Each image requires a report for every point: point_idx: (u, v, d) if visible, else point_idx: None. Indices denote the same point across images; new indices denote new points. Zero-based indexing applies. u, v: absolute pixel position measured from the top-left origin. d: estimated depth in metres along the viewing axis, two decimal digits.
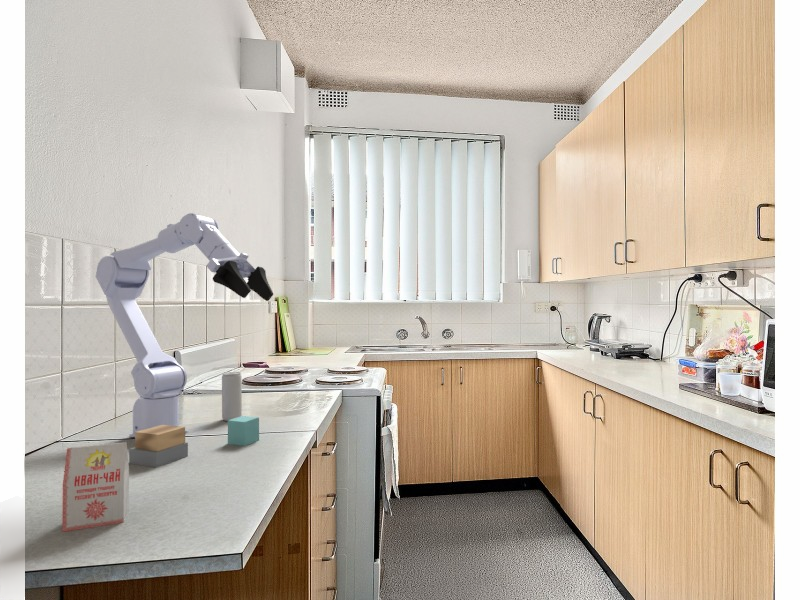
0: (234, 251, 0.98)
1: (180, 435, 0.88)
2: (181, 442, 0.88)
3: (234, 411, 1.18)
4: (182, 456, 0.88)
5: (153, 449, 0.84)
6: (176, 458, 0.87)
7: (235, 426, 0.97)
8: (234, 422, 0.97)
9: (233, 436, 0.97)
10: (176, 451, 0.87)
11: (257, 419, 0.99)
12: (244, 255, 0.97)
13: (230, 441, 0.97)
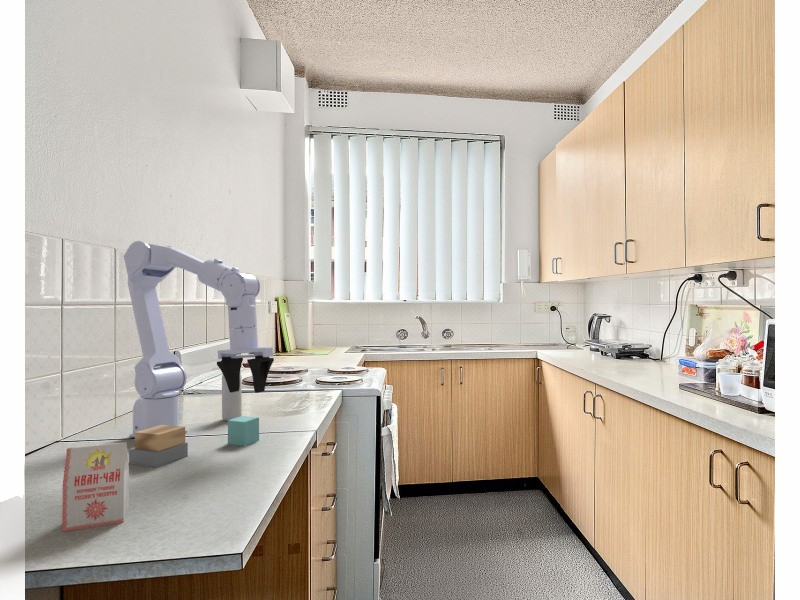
0: None
1: (181, 435, 0.88)
2: (181, 442, 0.88)
3: (234, 411, 1.18)
4: (182, 456, 0.88)
5: (154, 449, 0.84)
6: (176, 458, 0.87)
7: (235, 426, 0.97)
8: (234, 422, 0.97)
9: (233, 436, 0.97)
10: (176, 451, 0.87)
11: (257, 419, 0.99)
12: None
13: (230, 441, 0.97)
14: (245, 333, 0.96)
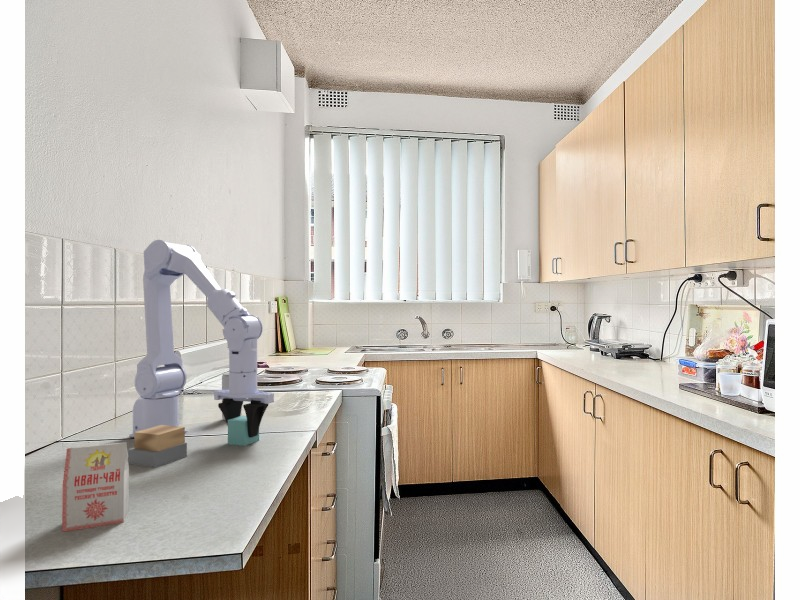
0: None
1: (180, 435, 0.88)
2: (181, 442, 0.88)
3: None
4: (181, 456, 0.88)
5: (153, 449, 0.84)
6: (175, 458, 0.87)
7: (235, 426, 0.97)
8: (234, 422, 0.97)
9: (233, 436, 0.97)
10: (175, 452, 0.87)
11: None
12: None
13: (230, 441, 0.97)
14: (247, 378, 0.96)
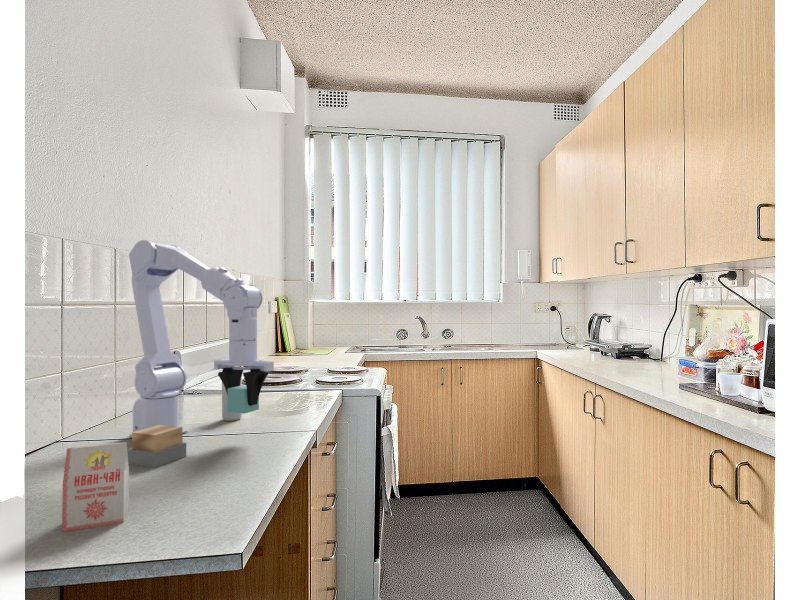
0: None
1: (178, 435, 0.88)
2: (178, 442, 0.88)
3: None
4: (180, 456, 0.88)
5: (151, 449, 0.84)
6: (174, 458, 0.86)
7: (235, 394, 0.97)
8: (234, 390, 0.97)
9: (233, 404, 0.97)
10: (175, 452, 0.87)
11: None
12: None
13: (230, 409, 0.97)
14: (246, 346, 0.97)
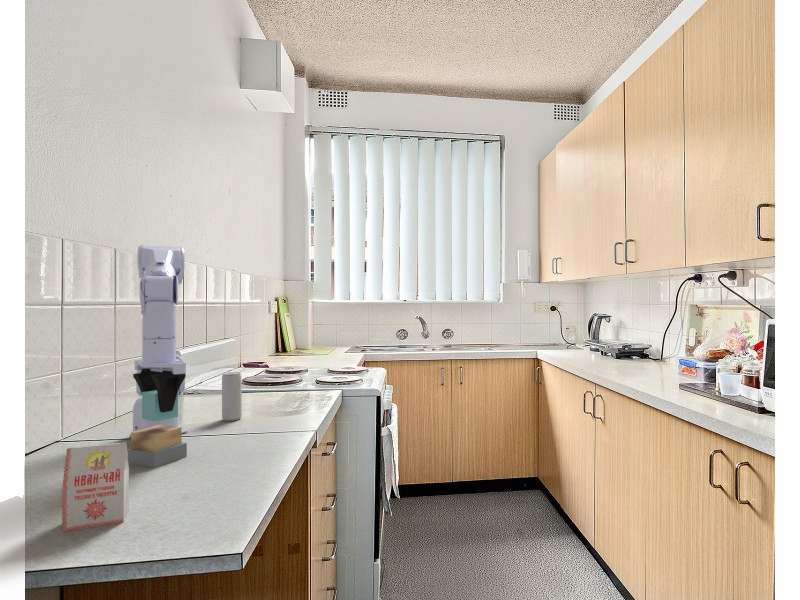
0: None
1: (177, 436, 0.88)
2: (177, 442, 0.88)
3: (234, 411, 1.18)
4: (181, 456, 0.88)
5: (150, 449, 0.84)
6: (175, 458, 0.86)
7: (148, 399, 0.86)
8: (147, 394, 0.86)
9: (146, 410, 0.86)
10: (175, 452, 0.86)
11: None
12: None
13: (143, 415, 0.87)
14: (157, 345, 0.85)
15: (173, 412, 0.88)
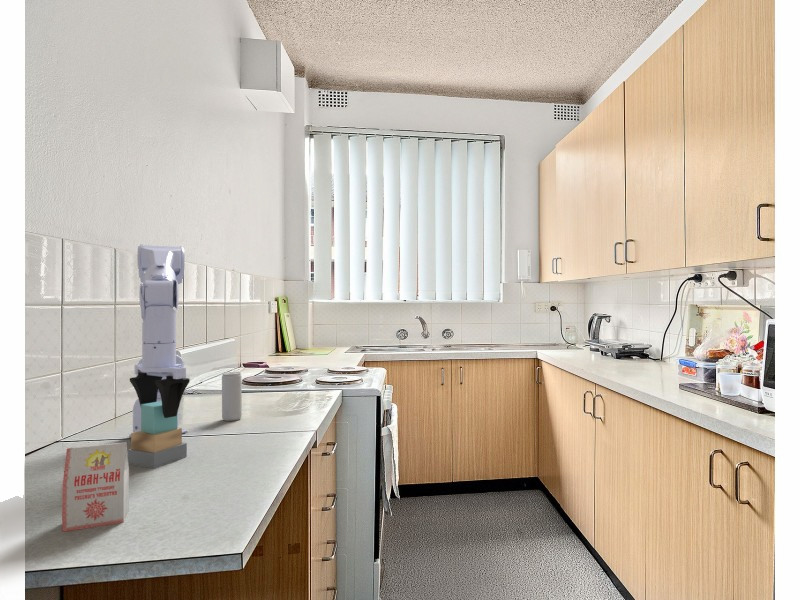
0: None
1: (177, 437, 0.88)
2: (178, 443, 0.88)
3: (234, 411, 1.18)
4: (181, 457, 0.88)
5: (150, 450, 0.83)
6: (175, 459, 0.86)
7: (147, 412, 0.86)
8: (146, 407, 0.86)
9: (145, 422, 0.86)
10: (175, 452, 0.86)
11: None
12: None
13: (143, 428, 0.86)
14: (157, 350, 0.85)
15: (172, 424, 0.87)
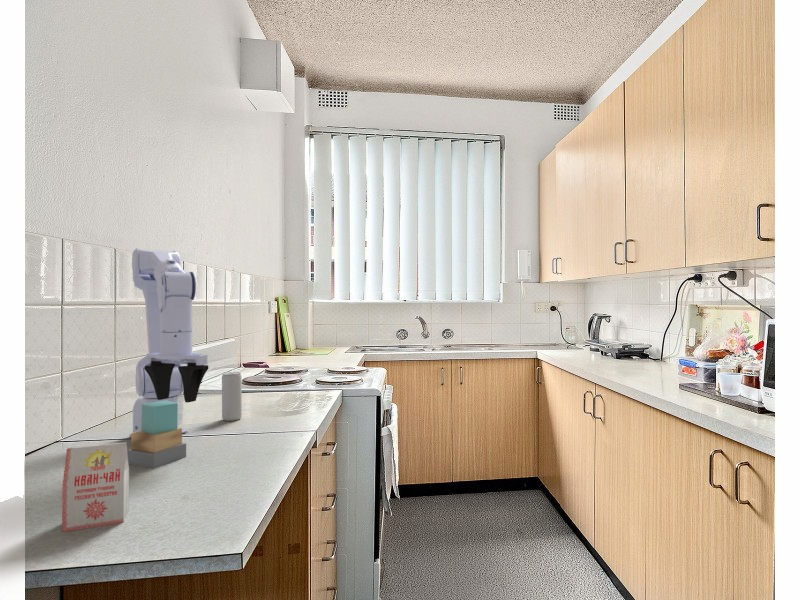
0: None
1: (177, 437, 0.88)
2: (178, 443, 0.88)
3: (234, 411, 1.18)
4: (180, 457, 0.88)
5: (150, 450, 0.83)
6: (174, 459, 0.86)
7: (147, 411, 0.86)
8: (146, 406, 0.86)
9: (145, 422, 0.86)
10: (174, 452, 0.86)
11: (174, 405, 0.87)
12: None
13: (143, 427, 0.86)
14: (178, 338, 0.90)
15: (172, 425, 0.87)
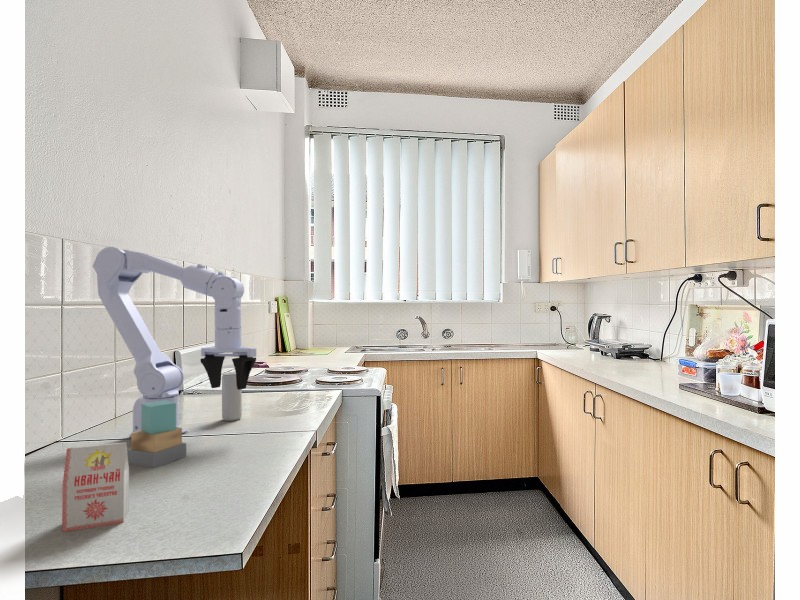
0: None
1: (177, 436, 0.88)
2: (178, 443, 0.88)
3: (234, 411, 1.18)
4: (180, 457, 0.88)
5: (150, 450, 0.83)
6: (174, 459, 0.86)
7: (145, 411, 0.86)
8: (145, 406, 0.86)
9: (144, 422, 0.86)
10: (174, 452, 0.86)
11: (173, 405, 0.87)
12: None
13: (142, 427, 0.87)
14: (231, 334, 1.04)
15: (170, 425, 0.87)
